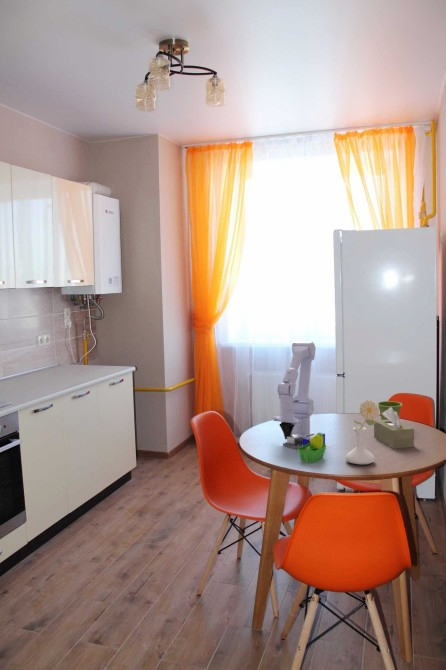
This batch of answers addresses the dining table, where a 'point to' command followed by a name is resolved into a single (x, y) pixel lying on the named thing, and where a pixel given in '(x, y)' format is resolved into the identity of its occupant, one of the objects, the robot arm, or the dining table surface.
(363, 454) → the flower in vase
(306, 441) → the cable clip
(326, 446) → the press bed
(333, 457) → the dining table surface
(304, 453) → the fruit basket
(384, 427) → the tissue box
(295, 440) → the block
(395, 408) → the plant pot
